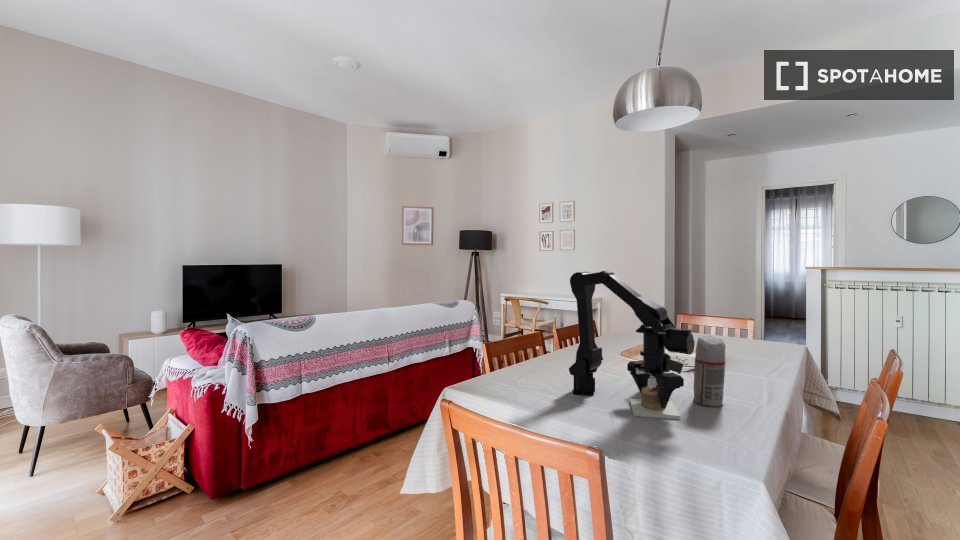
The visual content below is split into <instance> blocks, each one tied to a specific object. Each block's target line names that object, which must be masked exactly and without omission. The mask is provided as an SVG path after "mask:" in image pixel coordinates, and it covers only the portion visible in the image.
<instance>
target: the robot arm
mask: <svg viewBox="0 0 960 540" xmlns="http://www.w3.org/2000/svg"><path fill="white" fill-rule="evenodd" d="M569 277H570V278H569V284H570V289H571V293H572V295H573V296H574V297H575V298H574V299H576V307H577V308H576V309H577V310H576V311H577V323H578V336H579V337H578V338H579V340H578V341H579V344H578V346H577V347H578V348H577V349H576V352H575V362H574V363H572V364H571V365H570V366H569V367H568V371H569V374H570V376H573V389H572V390H573V391H572V394H573V395H582V396H583V395H585V396H594V395H595V393H596V377H594V373H596V372H597V370H598V368H600V366H601V365H602V364H603V363H602V362H603V360H604V358H603V347H598V346H597V343H596V341H595V340H596V339H595V338H596V337H595V327H594V326H595V324H594V315H593V314H594V313H593V312H594V311H593V310H594V309H593V296H594V293H595V292H596V285H601V284H602V285H604V286H605V287H606V288H607V289H608V290H609V291H611V292H612V293H613V294H614V295H615V296H617V297H618V298H619V299H620V300H621V301H623V302H624V303H626V304H627V306H629V307H630V308H631V309H632V311H633V312H634V315H635V317H636V318H638V320H639V321H640V322H641V325H640V326H639V328H637V329H635V332H636V333H638V334H642V336H643V337H642V338H643V339H642V340H643V342H642V344H643V345H642V348H643V349H642V351H641V350H640V351H639V354H640V356H642V360H631V361H629V362H628V363H627V367H626V368H627V372H629V374H630V375H631V377H632V379H633V381H634V383H635V385H636V387H637V389H638V391H639V393H640V394H641V391H642V387H645V386H648V379H649V377H650V376H653V377H656V382H657V384H658V385H656V389H657V393H658V397H659V401H660V404H661V407H662V408H666V406H667V404H668V401H670V399H671V396H672V394H673V392H674V391H675V390H676V389H680V388H681V387H684V385H685V383H684V381H685V378H683V377H682V375H681V374H682V371H683V367H684V363H682V362H680V361H677V360H673V359H671V355H669V354H668V353H666V351H667V352H669V353H677V354H684V355H690V356H691V355H693V353H694V350H695V346H696V345H695V340H694V339H695V338H694V336H693V334H692V329H689V328H684V329H683V328H676V326H675V324H674V323H673V322H672V321H671V319H670V317H669V316H668V311H667V309H666V308H665V307H664V306H662V305H660V304H659V303H656V302H655V301H653V300H651V299H648V298H646V297H643V296H642V295H641V294H639V293H638V292H637V291H636V290H635V289H633V288H632V287H631V286H630V285H628V284H627V283H626V282H624V281H623V280H622V279H621V278H619V277H618V276H617V275H616V273H614V271H612V270H602V271H599V272H590V271H577V272H574V273H573V274H572V275H571V276H569ZM670 371H671V372H670ZM664 372H666V373H664ZM676 373H677V374H676Z"/></svg>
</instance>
